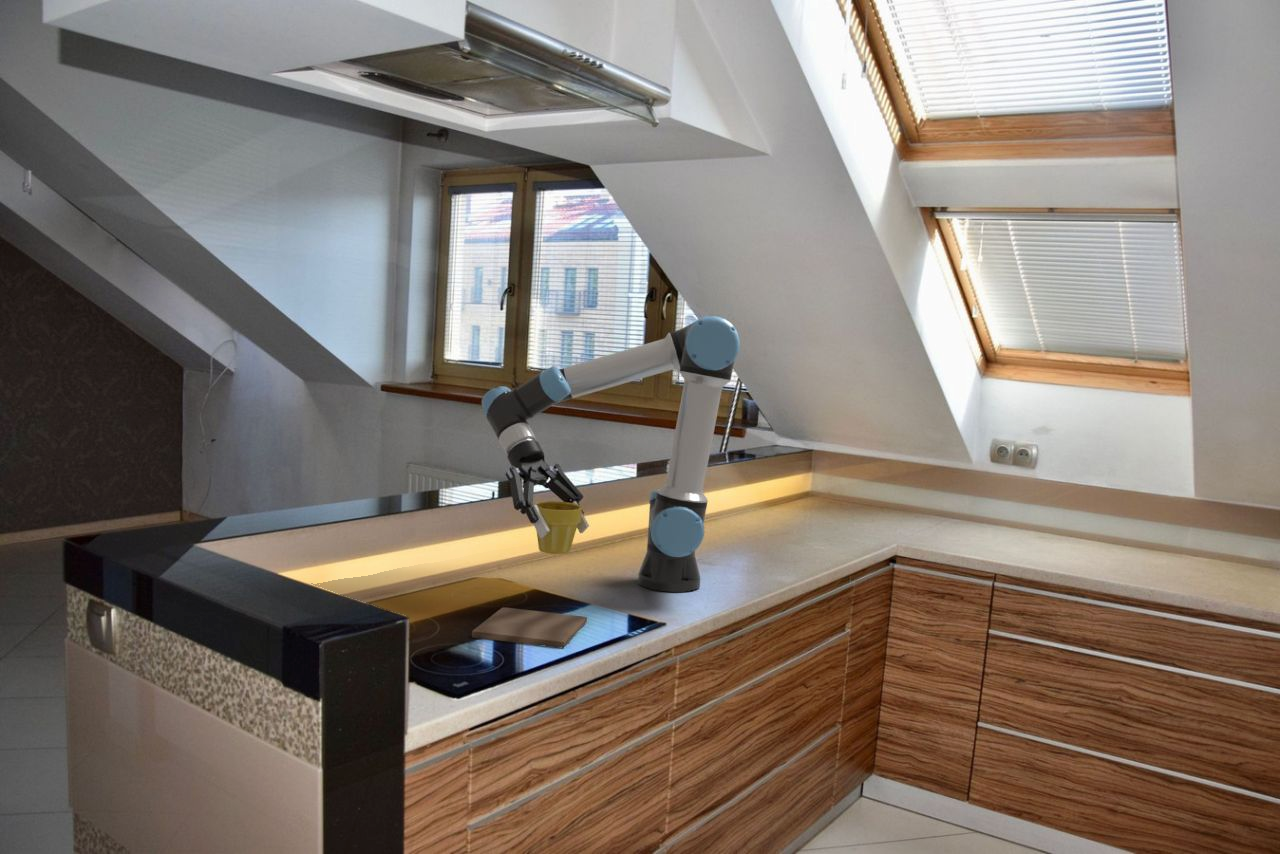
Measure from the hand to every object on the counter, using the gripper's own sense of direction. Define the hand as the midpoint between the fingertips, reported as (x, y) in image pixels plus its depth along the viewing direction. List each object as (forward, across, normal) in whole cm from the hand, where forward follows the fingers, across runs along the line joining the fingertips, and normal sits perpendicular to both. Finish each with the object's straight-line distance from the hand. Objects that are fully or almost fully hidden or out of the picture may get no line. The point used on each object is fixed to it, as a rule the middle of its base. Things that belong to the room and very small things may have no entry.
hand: (565, 532), depth 200 cm
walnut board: (+17, +13, -7) cm, 23 cm away
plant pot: (+1, 0, -6) cm, 6 cm away
